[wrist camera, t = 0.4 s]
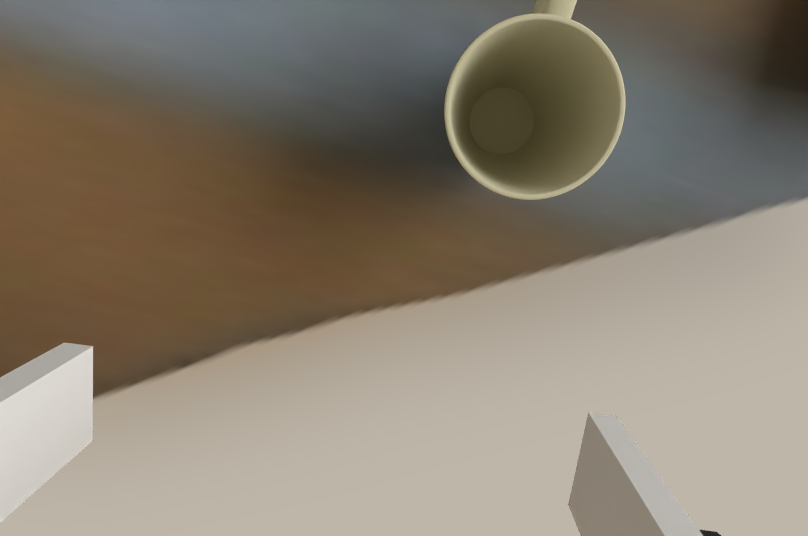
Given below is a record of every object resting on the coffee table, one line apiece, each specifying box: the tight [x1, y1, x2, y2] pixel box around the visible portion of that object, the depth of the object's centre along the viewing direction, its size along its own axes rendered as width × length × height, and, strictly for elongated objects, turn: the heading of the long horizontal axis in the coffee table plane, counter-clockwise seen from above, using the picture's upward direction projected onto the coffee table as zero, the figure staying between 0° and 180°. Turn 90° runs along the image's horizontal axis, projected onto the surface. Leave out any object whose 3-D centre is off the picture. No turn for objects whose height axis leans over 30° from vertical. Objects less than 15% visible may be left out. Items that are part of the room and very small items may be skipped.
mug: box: [444, 0, 625, 200], centre depth 33 cm, size 11×10×12 cm
